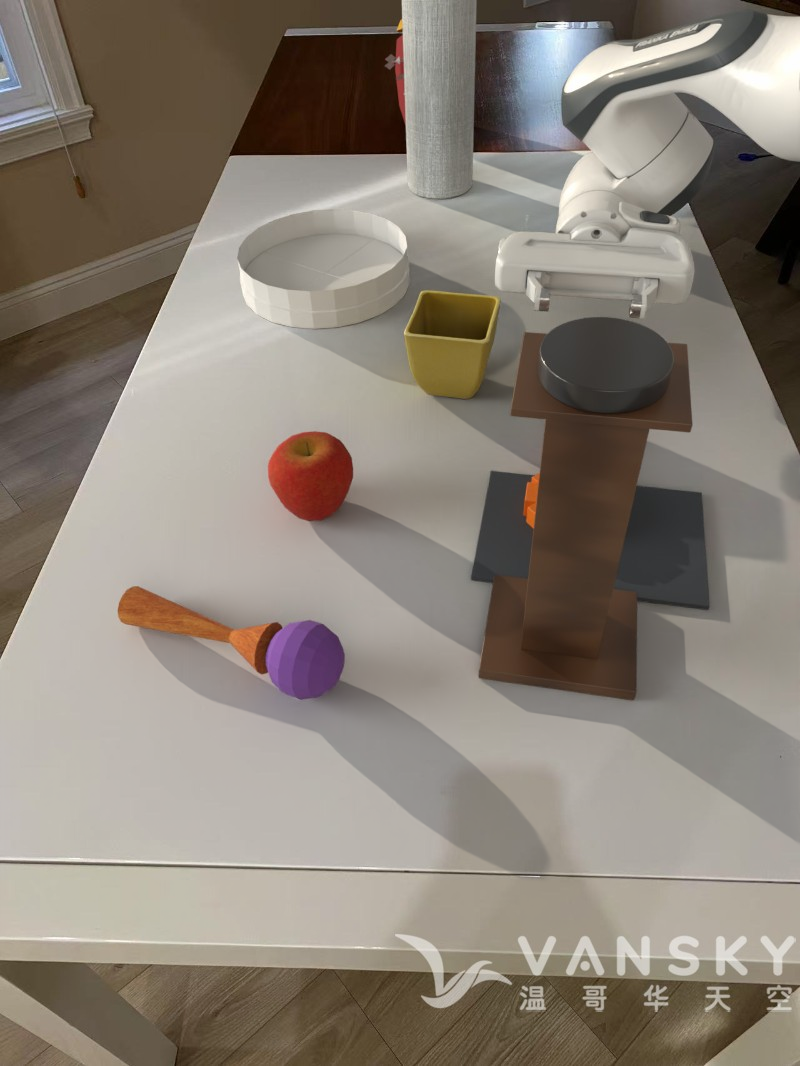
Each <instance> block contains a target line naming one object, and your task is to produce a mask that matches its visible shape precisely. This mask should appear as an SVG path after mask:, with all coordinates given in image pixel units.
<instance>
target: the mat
mask: <svg viewBox="0 0 800 1066" xmlns="http://www.w3.org/2000/svg"><path fill="white" fill-rule="evenodd" d="M535 475H536V474H525V473H516V472H508V471H507V472H505V471H498V470H491V471H490V475H489V479H488V485H487V490H486V496H485V500H484V506H483V512H482V518H481V523H480V527H479V533H478V538H477V542H476V543H477V544H476V548H475V553H474V560H473V565H472V570H471V575H470V580H471V581H475V582H482V583H483V582H484V583H490V584H491V583H492V584H493V580H494V575H502V576H510V577H518V578H526V579H528V576H529V567H530V558H531V549H532V539H533V530H534V529H533V528H532V527H531V526H530V525H529V524H528V523H527V522H526V520H527V516H523V514H524V504H525V496H526V489H527V483H528V482H532V477H533V476H535ZM704 517H705V516H704V505H703V493H702V491H693V490H684V489H683V490H681V489H674V488H673V489H672V488H661V487H652V486H643V485H637V487H636V491H635V495H634V500H633V504H632V509H631V513H630V518H629V522H628V526H627V531H626V535H625V540H624V544H623V549H622V553H621V557H620V562H619V566H618V571H617V575H616V580H615V584H614V589H615V590H623V591H631V592H637V602H642V603H643V602H644V603H650V604H651V603H652V604H659V605H666V606H675V607H683V608H690V609H700V610H706V611H708V610H710V607H711V604H710V603H711V602H710V589H709V577H708V575H709V574H708V561H707V559H708V558H707V548H706V547H707V546H706V534H705V533H706V532H705V518H704Z"/></svg>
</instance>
